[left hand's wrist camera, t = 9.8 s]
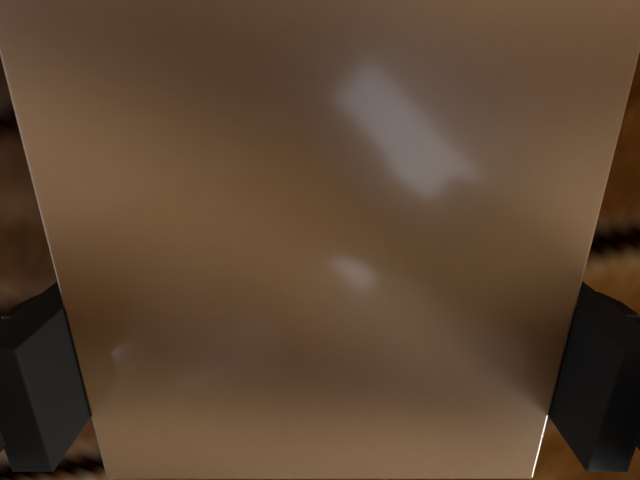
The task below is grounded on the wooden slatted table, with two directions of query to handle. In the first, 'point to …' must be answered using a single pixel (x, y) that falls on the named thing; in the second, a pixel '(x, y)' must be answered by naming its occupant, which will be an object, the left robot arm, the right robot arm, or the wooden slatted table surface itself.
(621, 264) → the wooden slatted table surface
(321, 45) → the cabinet
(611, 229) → the wooden slatted table surface
